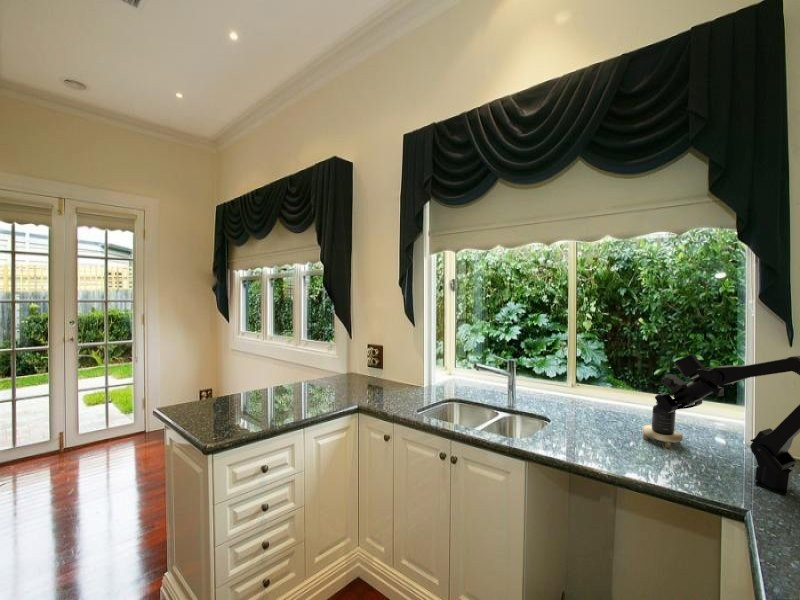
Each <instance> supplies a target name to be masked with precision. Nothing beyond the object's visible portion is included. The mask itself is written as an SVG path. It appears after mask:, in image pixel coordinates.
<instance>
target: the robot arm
mask: <svg viewBox="0 0 800 600" xmlns="http://www.w3.org/2000/svg"><path fill="white" fill-rule="evenodd" d="M673 365H675V367H676V369H678V371H679V372H680V373H681V374H682V375H683V377H684V378H686V379H688V378H689V379H690V380H692V381H690V382H688V383H685V381H683V380H682V379H680V378H679V377H678V376H676V375H675V374H672V373H668V374H666V375H664V376H663V377H661V378H660V380H661V382H660V383H661V384H662V385H664V386H665V387H667V388H669V389H670V390H669V391H670V393H671V394H672V395H673V396H671V395H670V393H667V392H664V393H658V394H657V395H655V396H654V400H656V402H658V404H656V405H657V406H656V407H655V408H654V409H653V408H652V412H653V413H654V414H655V413H671V412H674V411H676V412H677V410H686V409H691V408H694V407H699V406H700V405H702V404H703V400H704V399H705V397H707V396H709V395H712V394H714V396H715V397H721V396H724V395H725V392H724V391H725V387H723V386H726V385H731V384H734V383H738V382H741V381H744V380H747V379H749V378H756V377H760V376H762V377H763V376H769V375H774V374H782V373H787V372H792V373H795V374H797V375H798V376H800V355H793V356H789V357H786V358H782V359H781V358H780V359H777V360H776V359H775V360H769V361H764V362H759V363H753V364H748V365H747V364H746V365H740V364H739V365H737V364H735V365H733V364H732V365H721V366H720V365H719V366H714V367H713V366H709V367H708V366H707V367H705V366H704V365H703V364H702V363H701V361H700V360H699V359H698V357H697V356H696V355H695V353H692V354H688V355H687V356H684V357H682V358H679V359H677V360H676V361H674V363H673ZM721 386H722V387H721ZM799 434H800V403H799V405H797V406H796V407H795V408H794V409H793V410H792V412H790V413H789V414H788V415H787V416H786V418H784V419H783V420H782V421H781V422H780V423H779V424H778V425H777V426H776V427H775V428H774V429H772V428H770V427H769V428H766V429H763V430H760V431H758V433H757V434H756V436H755V437H754V438H752V439H750V440H749V441H750V442H751V444H750V445H749V447H750V452H751V453H752V454H753V456H754V457H755V460H756V464H757V466H756V469H755V478H754V480H755V482H754V484H755V485H756V486H758V487H762V488H763V489H766V490H769V491H771V492H774V493H777V494H780V495H783V496H786V495H788V494H789V493H791V491H792V490H793V487H792V485H791V484H792V477H793V468H794V467H795V466H796V465H797V463H798V461H797V460H796V458H794V456H793V455H792V454H791V453H790V452H789V450H790V448H791V447H792V443H793V440H794V439H795V437H797V436H798V435H799Z"/></svg>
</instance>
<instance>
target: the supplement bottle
mask: <svg viewBox="0 0 800 600" xmlns="http://www.w3.org/2000/svg"><path fill="white" fill-rule="evenodd" d="M655 403H656V404H655V405H653V406H652V410H653V409H654V408H655V407H656V406H657V404H658V402H657V401H656V402H655ZM651 413H652V415H651V425H652V430H653V431H654V432H656V433H658V434H662V435H673V434H674V430H675V429H676V428H675V426H676V425H675V424H676V414H677V410H676V411H674V412H671V413H655V414H654V413H653V411H652V412H651Z"/></svg>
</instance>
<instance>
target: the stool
mask: <svg viewBox="0 0 800 600" xmlns="http://www.w3.org/2000/svg"><path fill="white" fill-rule="evenodd" d="M641 430H642V434H643V436H642V439H643V440H644V441H649V438H650V439H654V440H657V441H661V442H664V448H666V449H671V448H672V447H671V446H672V443H675V444H678V445H679V444H681V442H682V441H683V438H684V436H683V433H681V432H680V431H678V430H676V429H674V434H673V435H662V434H658V433H656V432H654V431H653V430H652V424H645V425H643V426H642V429H641Z"/></svg>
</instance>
